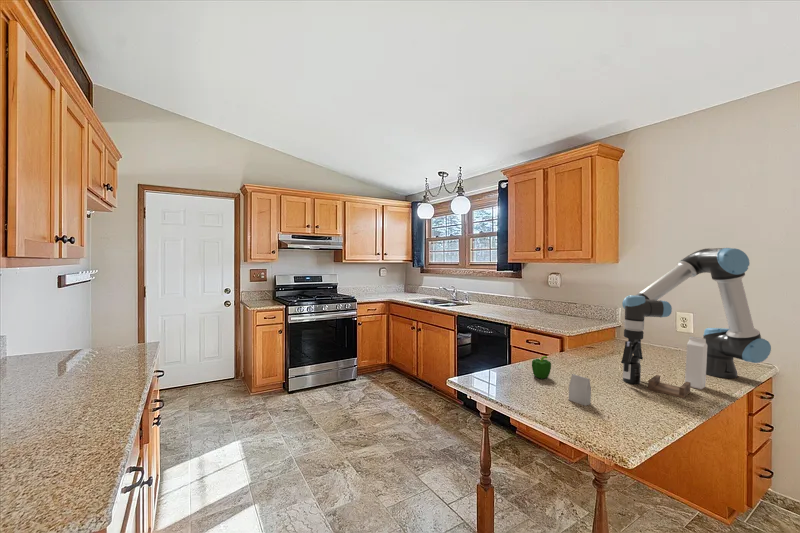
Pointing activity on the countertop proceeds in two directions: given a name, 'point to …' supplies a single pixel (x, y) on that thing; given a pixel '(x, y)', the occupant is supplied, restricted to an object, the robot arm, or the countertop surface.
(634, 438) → the countertop surface
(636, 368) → the supplement bottle
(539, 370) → the bell pepper
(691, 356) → the milk
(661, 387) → the u cradle
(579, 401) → the grey upright block
